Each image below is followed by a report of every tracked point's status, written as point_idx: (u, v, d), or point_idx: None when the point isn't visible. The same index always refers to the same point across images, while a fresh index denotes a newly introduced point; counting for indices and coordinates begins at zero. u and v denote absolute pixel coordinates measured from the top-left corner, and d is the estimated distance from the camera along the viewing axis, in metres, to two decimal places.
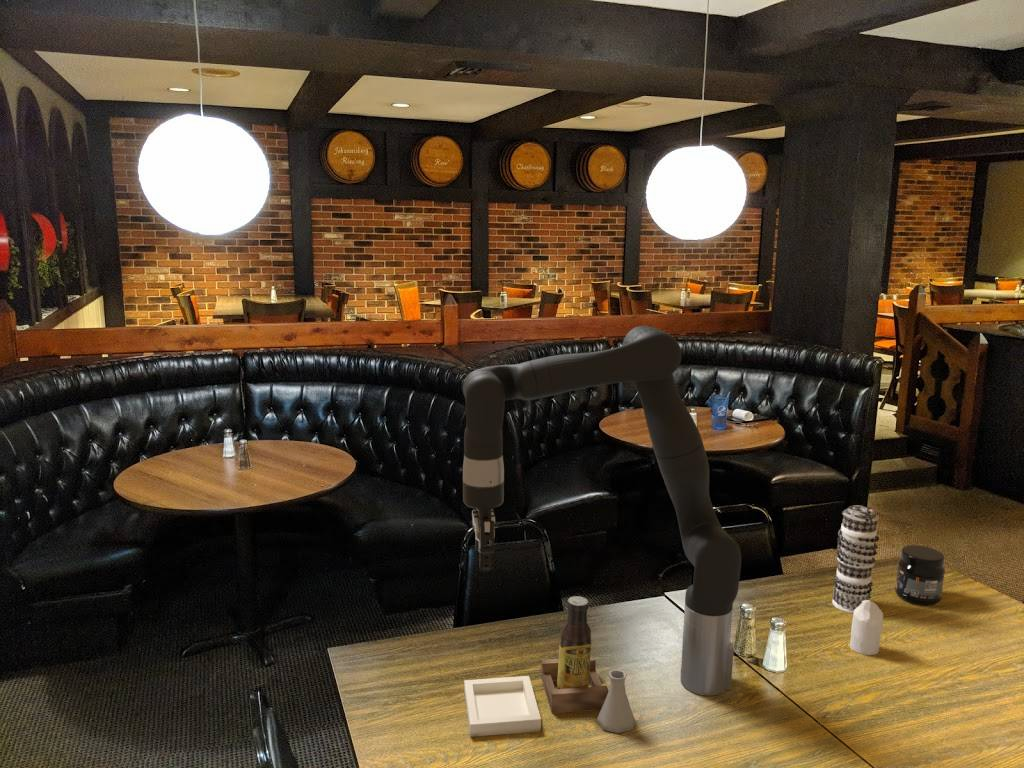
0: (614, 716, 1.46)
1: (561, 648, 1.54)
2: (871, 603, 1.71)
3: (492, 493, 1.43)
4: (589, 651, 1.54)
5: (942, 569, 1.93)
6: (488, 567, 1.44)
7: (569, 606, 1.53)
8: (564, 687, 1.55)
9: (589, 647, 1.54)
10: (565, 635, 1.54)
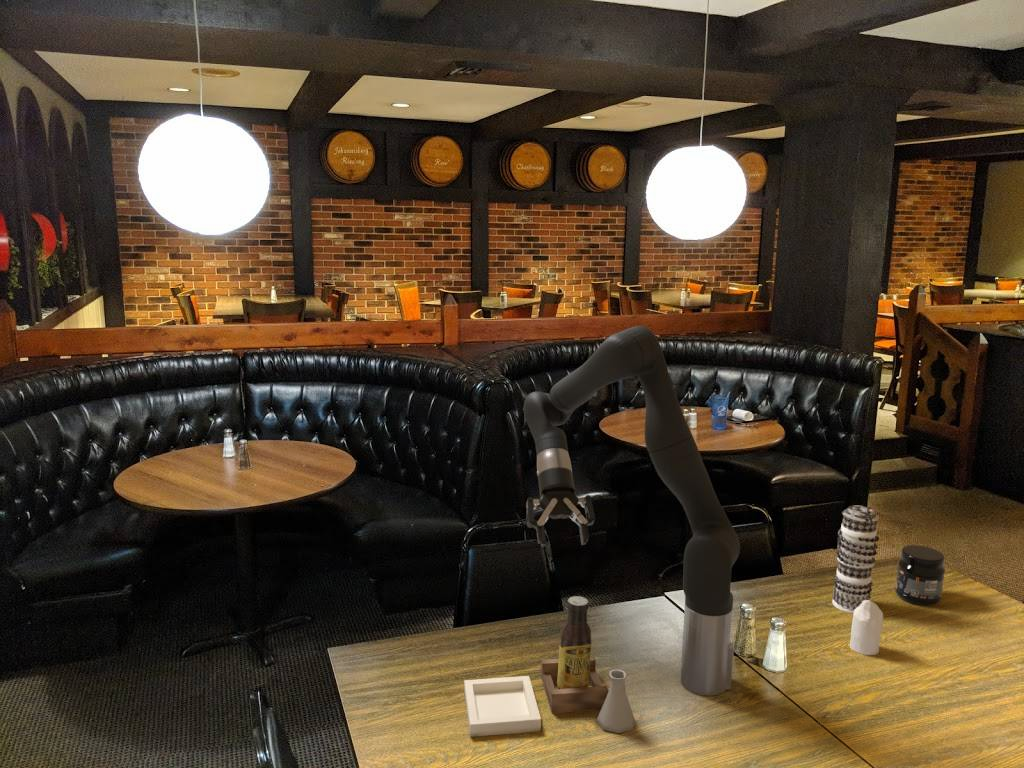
0: (614, 716, 1.46)
1: (561, 648, 1.54)
2: (871, 603, 1.71)
3: (540, 478, 1.70)
4: (589, 651, 1.54)
5: (942, 569, 1.93)
6: (538, 540, 1.64)
7: (569, 606, 1.53)
8: (564, 687, 1.55)
9: (589, 647, 1.54)
10: (565, 635, 1.54)
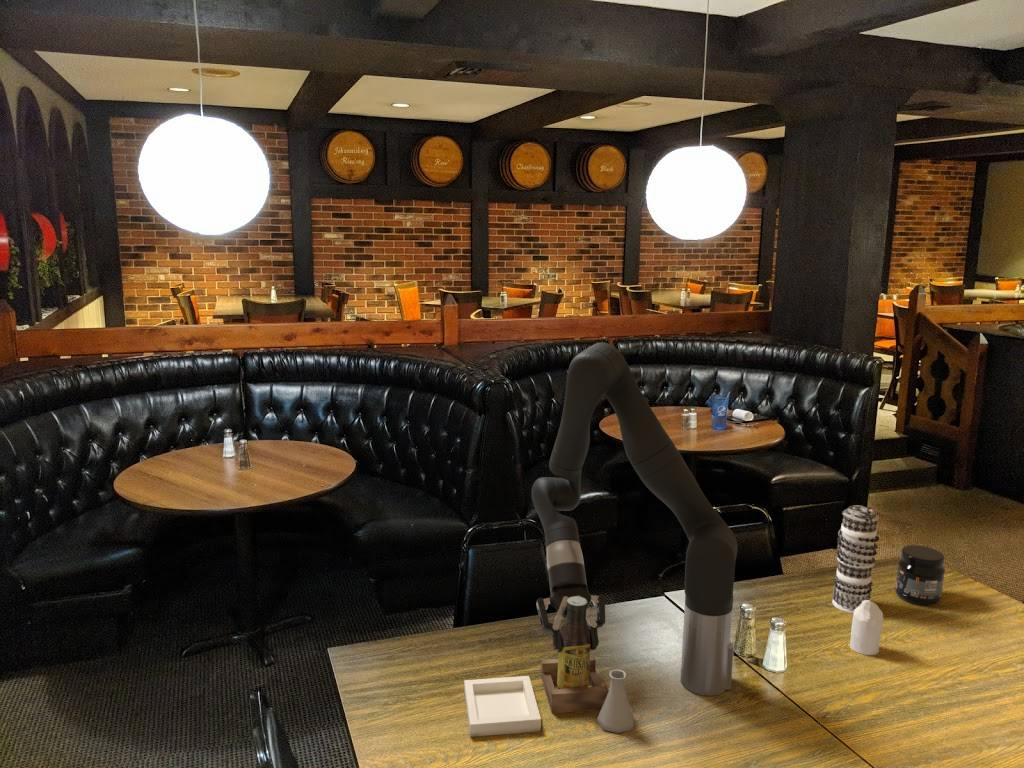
0: (614, 716, 1.46)
1: None
2: (871, 603, 1.71)
3: (550, 573, 1.60)
4: (589, 651, 1.54)
5: (942, 569, 1.93)
6: (554, 645, 1.54)
7: (568, 606, 1.53)
8: (564, 687, 1.55)
9: (588, 647, 1.54)
10: (564, 635, 1.54)
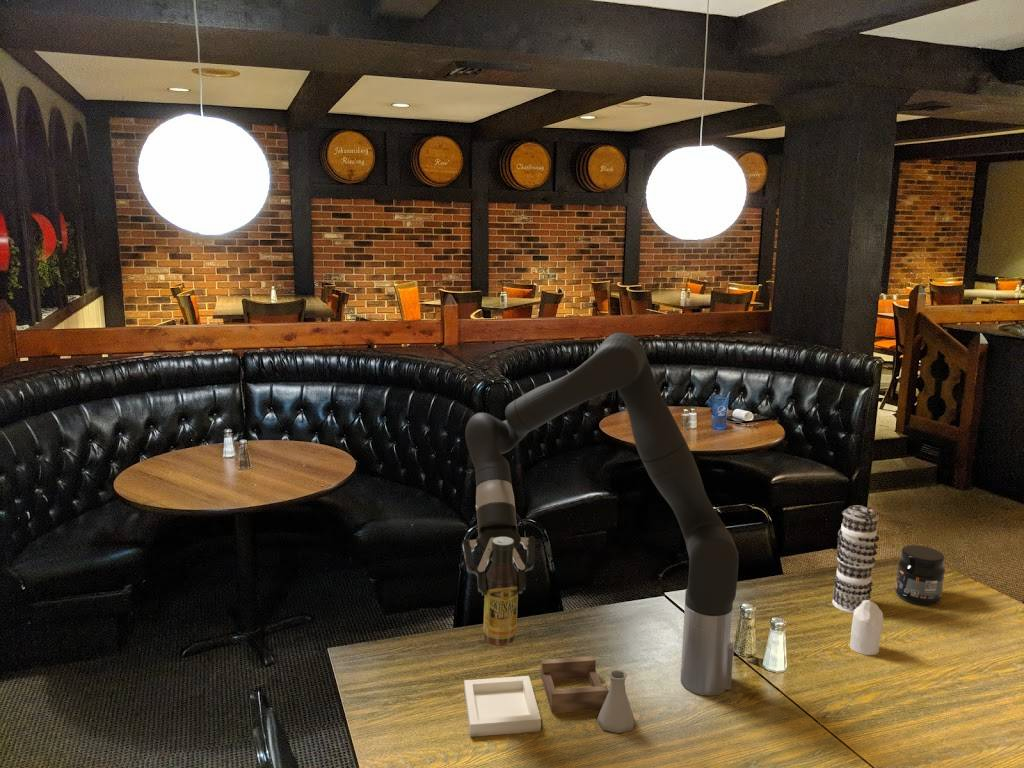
0: (614, 716, 1.46)
1: None
2: (871, 603, 1.71)
3: (478, 514, 1.52)
4: (515, 594, 1.45)
5: (942, 569, 1.93)
6: (478, 588, 1.45)
7: (493, 546, 1.44)
8: (489, 632, 1.46)
9: (515, 590, 1.45)
10: (489, 577, 1.45)
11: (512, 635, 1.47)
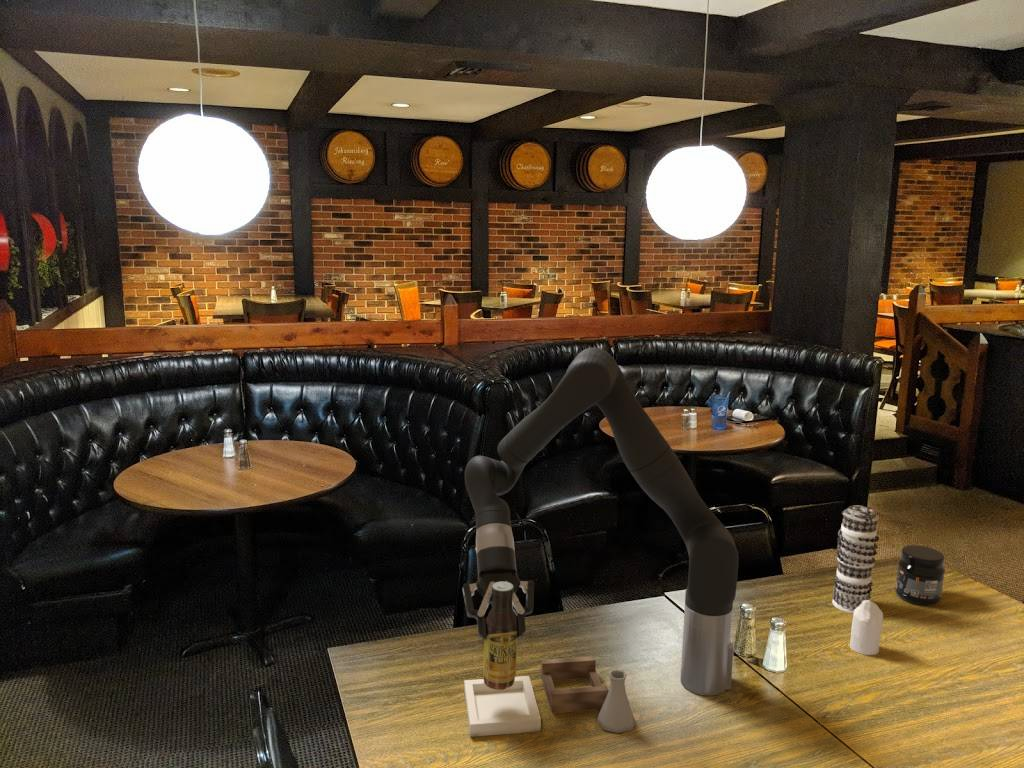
0: (614, 716, 1.46)
1: None
2: (871, 603, 1.71)
3: (478, 558, 1.53)
4: (515, 639, 1.47)
5: (942, 569, 1.93)
6: (478, 633, 1.47)
7: (493, 592, 1.46)
8: (489, 676, 1.48)
9: (515, 634, 1.47)
10: (489, 621, 1.47)
11: (511, 679, 1.48)
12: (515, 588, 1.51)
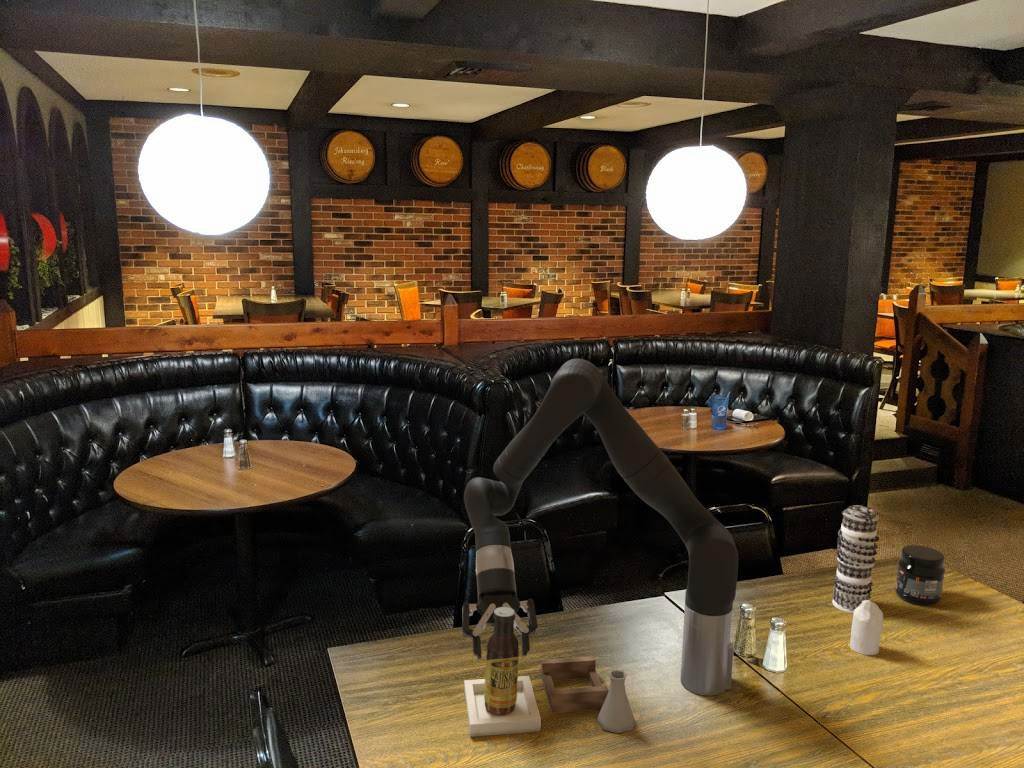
0: (614, 716, 1.46)
1: (487, 661, 1.49)
2: (871, 603, 1.71)
3: (478, 580, 1.54)
4: (516, 664, 1.49)
5: (942, 569, 1.93)
6: (473, 652, 1.48)
7: (495, 617, 1.47)
8: (490, 701, 1.49)
9: (516, 660, 1.48)
10: (491, 647, 1.48)
11: (512, 704, 1.50)
12: (515, 610, 1.52)
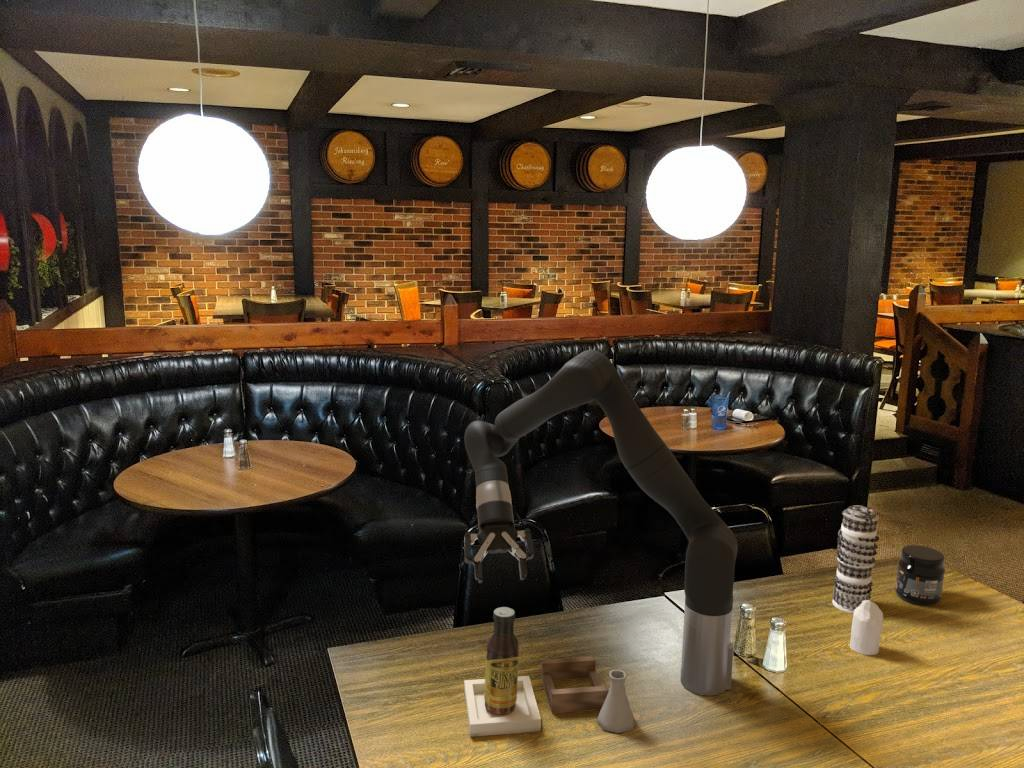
0: (615, 716, 1.46)
1: (487, 661, 1.49)
2: (871, 603, 1.71)
3: (478, 512, 1.66)
4: (516, 664, 1.49)
5: (942, 569, 1.93)
6: (475, 576, 1.60)
7: (494, 617, 1.47)
8: (490, 701, 1.49)
9: (516, 660, 1.48)
10: (491, 647, 1.48)
11: (512, 704, 1.50)
12: (513, 538, 1.64)
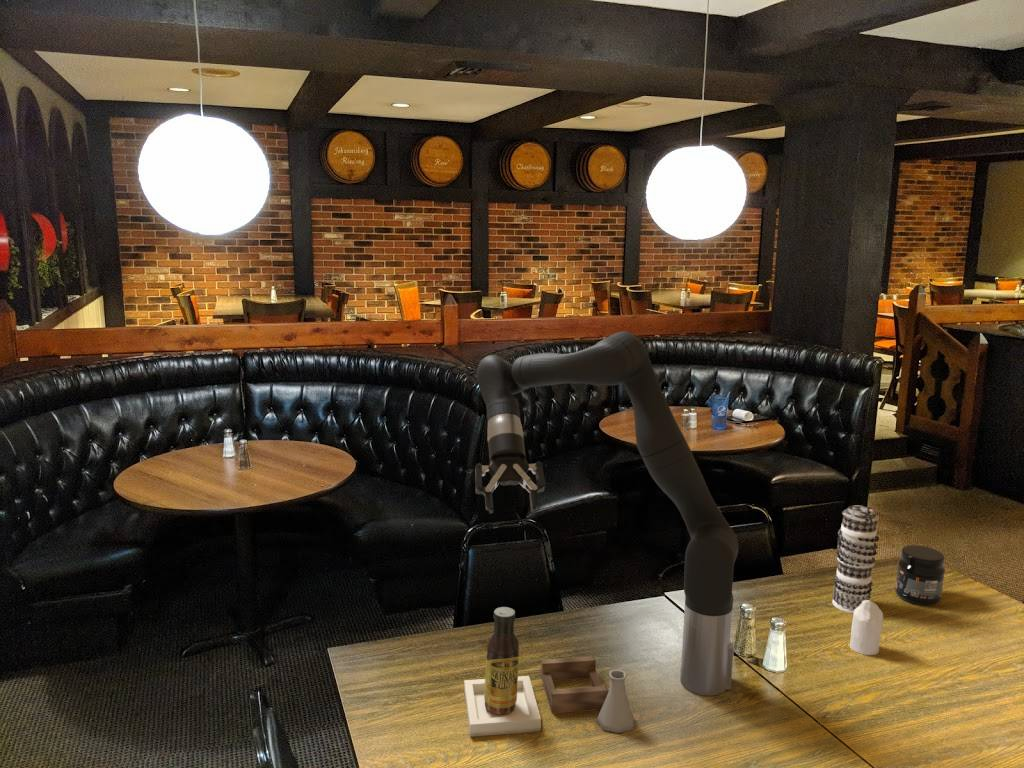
0: (614, 716, 1.46)
1: (487, 661, 1.49)
2: (871, 603, 1.71)
3: (490, 444, 1.66)
4: (516, 664, 1.49)
5: (942, 569, 1.93)
6: (486, 506, 1.59)
7: (495, 617, 1.47)
8: (490, 701, 1.49)
9: (516, 660, 1.48)
10: (491, 647, 1.48)
11: (512, 704, 1.50)
12: (524, 470, 1.63)
